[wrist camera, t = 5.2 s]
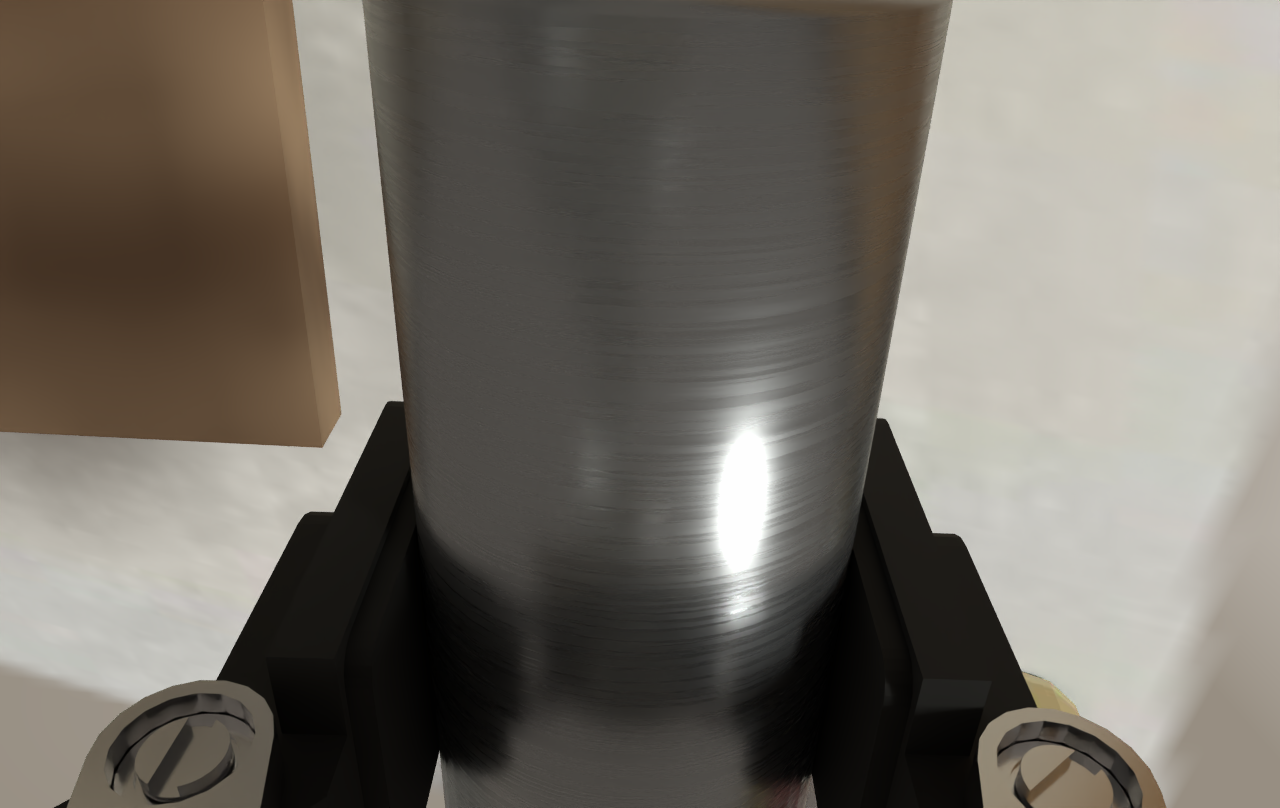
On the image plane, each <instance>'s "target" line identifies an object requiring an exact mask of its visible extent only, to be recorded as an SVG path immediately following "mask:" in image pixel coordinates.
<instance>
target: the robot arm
mask: <svg viewBox="0 0 1280 808" xmlns="http://www.w3.org/2000/svg"><path fill="white" fill-rule="evenodd" d="M439 750H440V749H439V740H438V730H437V720H436V710H435V701H434V691H433V681H432V672H431V662H430V652H429V642H428V633H427V623H426V613H425V604H424V594H423V584H422V574H421V565H420V555H419V545H418V536H417V526H416V516H415V506H414V497H413V487H412V477H411V468H410V458H409V448H408V438H407V429H406V419H405V409H404V402H399V401H389V402H387V404H386V405H385V407H384V409H383V411H382V413H381V415H380V417H379V419H378V421H377V424H376V426H375V428H374V430H373V432H372V434H371V436H370V438H369V440H368V442H367V444H366V447H365V449H364V451H363V453H362V455H361V457H360V459H359V461H358V463H357V465H356V467H355V470H354V472H353V474H352V476H351V478H350V480H349V482H348V484H347V486H346V488H345V490H344V493H343V495H342V497H341V499H340V501H339V503H338V505H337V507H336V509H335V511H334V512H309V513H307V514H305V515H304V516H303V518H302V519H301V520H300V522H299V523H298V525H297V527H296V529H295V531H294V533H293V535H292V536H291V538H290V540H289V542H288V544H287V546H286V548H285V550H284V552H283V554H282V556H281V557H280V559H279V561H278V563H277V565H276V567H275V569H274V571H273V573H272V575H271V577H270V578H269V580H268V582H267V584H266V586H265V588H264V590H263V592H262V594H261V596H260V598H259V600H258V601H257V603H256V605H255V607H254V609H253V611H252V613H251V615H250V617H249V619H248V621H247V622H246V624H245V626H244V628H243V630H242V632H241V634H240V636H239V638H238V640H237V642H236V643H235V645H234V647H233V649H232V651H231V653H230V655H229V657H228V659H227V661H226V663H225V665H224V666H223V668H222V670H221V672H220V674H219V676H218V678H217V680H199V681H194V682H190V683H185V684H180V685H175V686H171V687H169V688H166V689H164V690H161V691H159V692H157V693H154V694H152V695H149V696H147V697H145V698H143V699H141V700H140V701H138V702H137V703H135V704H134V705H132V706H131V707H129V708H128V709H126V710H125V711H123V712H122V713H120V714H119V715H118V716H117V717H116V718H115V719H114V720H113V721H112V722H111V723H110V724H109V725H108V726H107V727H106V728H105V729H104V730H103V731H102V732H101V733H100V734H99V736H98V737H97V739H96V741H95V742H94V744H93V746H92V748H91V749H90V751H89V753H88V754H87V756H86V759H85V761H84V764H83V766H82V769H81V772H80V774H79V777H78V780H77V782H76V785H75V787H74V790H73V793H72V795H71V798H70V799H69V800H67V801H65V802H63V803H62V804H60V805H58V806H56V807H54V808H426V805H427V801H428V797H429V793H430V788H431V784H432V780H433V776H434V771H435V767H436V763H437V759H438V754H439ZM812 777H813V783H814V789H815V795H816V801H817V807H818V808H1166V805H1165V802H1164V799H1163V795H1162V792H1161V790H1160V788H1159V786H1158V784H1157V782H1156V780H1155V778H1154V776H1153V774H1152V772H1151V770H1150V768H1149V767H1148V766H1147V765H1146V764H1145V763H1144V761H1143V760H1142V759H1141V758H1140V757H1139V756H1138V755H1137V753H1136V752H1135V751H1134V750H1133V749H1132V748H1131V747H1130V746H1129V745H1127V744H1126V743H1125V742H1123V741H1122V740H1121V739H1119V738H1118V737H1117V736H1115V735H1114V734H1113V733H1111V732H1110V731H1109V730H1107V729H1105V728H1103V727H1101V726H1099V725H1097V724H1095V723H1093V722H1091V721H1089V720H1087V719H1085V718H1083V717H1081V716H1077V715H1074V714H1070V713H1067V712H1063V711H1059V710H1056V709H1046V708H1038V707H1037V705H1036V703H1035V701H1034V698H1033V696H1032V694H1031V692H1030V689H1029V687H1028V685H1027V683H1026V680H1025V678H1024V676H1023V673H1022V671H1021V669H1020V667H1019V664H1018V662H1017V660H1016V658H1015V655H1014V653H1013V651H1012V649H1011V646H1010V644H1009V642H1008V640H1007V637H1006V635H1005V633H1004V631H1003V628H1002V626H1001V624H1000V622H999V619H998V617H997V615H996V613H995V610H994V608H993V606H992V603H991V601H990V599H989V597H988V594H987V592H986V590H985V588H984V585H983V583H982V581H981V579H980V576H979V574H978V572H977V570H976V567H975V565H974V563H973V561H972V558H971V556H970V554H969V552H968V549H967V547H966V545H965V544H964V542H963V540H962V539H961V537H959V536H957V535H956V534H943V533H932V531H931V528H930V526H929V523H928V521H927V518H926V516H925V513H924V511H923V508H922V506H921V503H920V501H919V498H918V496H917V493H916V491H915V488H914V486H913V483H912V481H911V478H910V476H909V473H908V471H907V469H906V466H905V464H904V461H903V459H902V456H901V454H900V451H899V449H898V446H897V444H896V441H895V439H894V436H893V434H892V431H891V429H890V426H889V424H888V422H887V421H886V419H881V418H877V419H876V424H875V430H874V435H873V441H872V446H871V451H870V457H869V462H868V468H867V473H866V479H865V484H864V490H863V495H862V501H861V506H860V512H859V517H858V523H857V528H856V534H855V539H854V545H853V550H852V555H851V561H850V566H849V572H848V577H847V583H846V588H845V594H844V599H843V605H842V610H841V616H840V621H839V627H838V632H837V638H836V643H835V649H834V654H833V659H832V665H831V670H830V676H829V681H828V687H827V692H826V698H825V703H824V709H823V714H822V720H821V725H820V731H819V736H818V742H817V747H816V753H815V758H814V763H813V769H812Z"/></svg>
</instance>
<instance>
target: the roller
mask: <svg viewBox="0 0 1280 808" xmlns="http://www.w3.org/2000/svg"><path fill="white" fill-rule="evenodd" d="M362 1H363V11H364V20H365V30H366V40H367V50H368V59H369V69H370V79H371V88H372V98H373V108H374V118H375V127H376V137H377V147H378V156H379V166H380V176H381V186H382V195H383V205H384V215H385V225H386V234H387V244H388V254H389V263H390V273H391V283H392V293H393V302H394V312H395V322H396V331H397V341H398V351H399V361H400V370H401V380H402V390H403V399H404V409H405V419H406V429H407V438H408V448H409V458H410V468H411V477H412V487H413V497H414V506H415V516H416V526H417V536H418V545H419V555H420V565H421V574H422V584H423V594H424V604H425V613H426V623H427V633H428V642H429V652H430V662H431V672H432V681H433V691H434V701H435V710H436V720H437V730H438V740H439V749H440V759H441V769H442V779H443V788H444V798H445V808H805V807H806V802H807V796H808V791H809V785H810V780H811V774H812V769H813V763H814V758H815V753H816V747H817V742H818V736H819V731H820V725H821V720H822V714H823V709H824V703H825V698H826V692H827V687H828V681H829V676H830V670H831V665H832V659H833V654H834V649H835V643H836V638H837V632H838V627H839V621H840V616H841V610H842V605H843V599H844V594H845V588H846V583H847V577H848V572H849V566H850V561H851V555H852V550H853V545H854V539H855V534H856V528H857V523H858V517H859V512H860V506H861V501H862V495H863V490H864V484H865V479H866V473H867V468H868V462H869V457H870V451H871V446H872V441H873V435H874V430H875V424H876V419H877V413H878V408H879V402H880V397H881V391H882V386H883V380H884V375H885V369H886V364H887V358H888V353H889V347H890V342H891V337H892V331H893V326H894V320H895V315H896V309H897V304H898V298H899V293H900V287H901V282H902V276H903V271H904V265H905V260H906V254H907V249H908V243H909V238H910V233H911V227H912V222H913V216H914V211H915V205H916V200H917V194H918V189H919V183H920V178H921V172H922V167H923V161H924V156H925V150H926V145H927V139H928V134H929V129H930V123H931V118H932V112H933V107H934V101H935V96H936V90H937V85H938V79H939V74H940V68H941V63H942V57H943V52H944V46H945V41H946V35H947V30H948V25H949V19H950V14H951V8H952V3H953V0H362Z"/></svg>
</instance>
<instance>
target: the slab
mask: <svg viewBox="0 0 1280 808" xmlns="http://www.w3.org/2000/svg"><path fill="white" fill-rule="evenodd" d="M340 415H341V406H340V398H339V390H338V381H337V373H336V364H335V356H334V348H333V339H332V331H331V322H330V314H329V306H328V297H327V289H326V280H325V272H324V264H323V255H322V247H321V238H320V230H319V221H318V213H317V205H316V196H315V188H314V179H313V171H312V163H311V154H310V146H309V137H308V129H307V121H306V112H305V104H304V95H303V87H302V79H301V70H300V62H299V53H298V45H297V37H296V28H295V20H294V11H293V3H292V0H0V432H19V433H39V434H59V435H79V436H99V437H119V438H139V439H159V440H179V441H199V442H219V443H239V444H259V445H279V446H299V447H319V448H322V447H323V446H324V444H325V442H326V440H327V438H328V437H329V435H330V433H331V431H332V430H333V428H334V426H335V424H336V422H337V421H338V419H339V417H340Z"/></svg>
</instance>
